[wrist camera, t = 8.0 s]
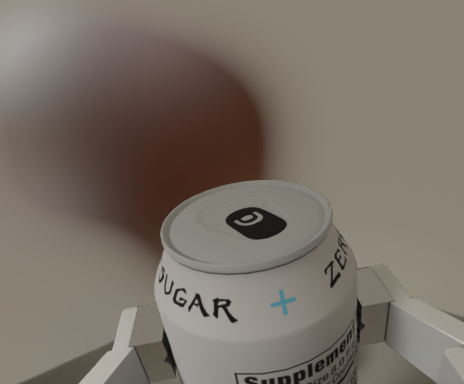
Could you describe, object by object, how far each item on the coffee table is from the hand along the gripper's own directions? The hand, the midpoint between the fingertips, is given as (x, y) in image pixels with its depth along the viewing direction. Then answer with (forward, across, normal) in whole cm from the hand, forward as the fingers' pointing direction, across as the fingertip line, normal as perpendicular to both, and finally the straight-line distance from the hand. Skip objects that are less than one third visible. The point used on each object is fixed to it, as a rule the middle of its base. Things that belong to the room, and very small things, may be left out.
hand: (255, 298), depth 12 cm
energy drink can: (-2, 0, +11) cm, 12 cm away
